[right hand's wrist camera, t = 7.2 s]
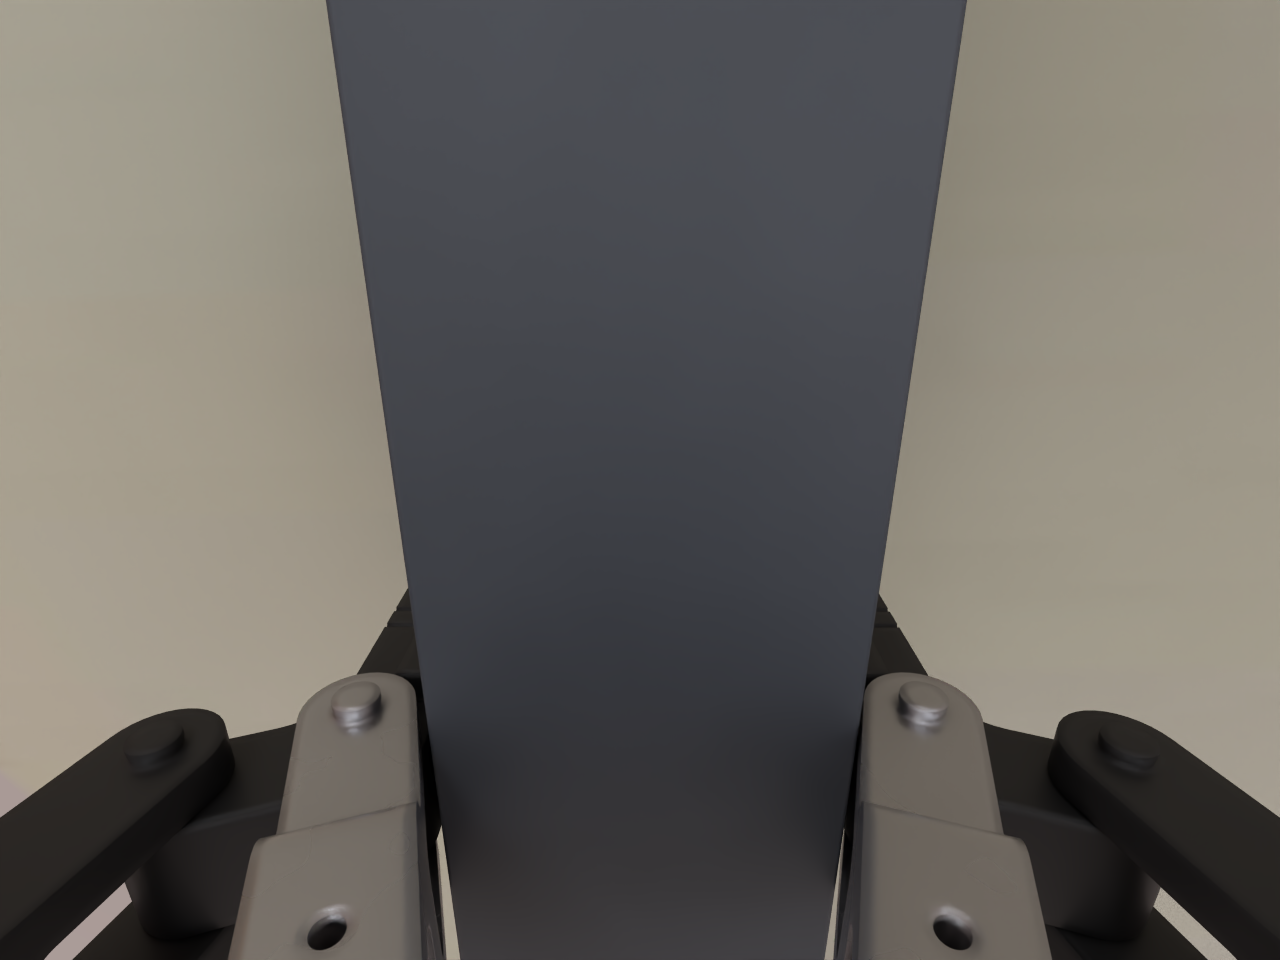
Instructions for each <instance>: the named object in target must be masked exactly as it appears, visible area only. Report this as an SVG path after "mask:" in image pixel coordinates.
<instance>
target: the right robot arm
mask: <svg viewBox="0 0 1280 960" xmlns="http://www.w3.org/2000/svg"><path fill="white" fill-rule="evenodd" d="M441 825H442V824H441V817H440V810H439V803H438V796H437V788H436V781H435V774H434V767H433V760H432V753H431V746H430V738H429V731H428V724H427V717H426V710H425V703H424V696H423V689H422V681H421V674H420V667H419V660H418V653H417V646H416V639H415V632H414V624H413V617H412V610H411V603H410V596H409V589H407V591H406V592H405V594H404V596H403V597H402V599H401V601H400V602H399V604H398V606H397V610H396V611H394V613H393V614H392V616H391V618H390V619H389V621H388V623H387V627H385V628H384V629H383V631H382V633H381V634H380V636H379V638H378V640H377V641H376V643H375V645H374V646H373V648H372V650H371V651H370V653H369V655H368V656H367V658H366V660H365V661H364V663H363V665H362V667H361V668H360V670H359V672H358V673H357V675H354V676H350V677H347V678H344V679H341V680H339V681H336V682H334V683H332V684H330V685H328V686H326V687H325V688H323V689H321V690H320V691H319V692H317V693H316V694H315V695H313V696H312V697H311V698H310V699H309V700H308V701H307V702H306V703H305V705H304V706H303V707H302V709H301V711H300V713H299V716H298V719H297V723H295V724H292V725H289V726H285V727H281V728H277V729H273V730H268V731H264V732H259V733H255V734H250V735H245V736H241V737H236V738H232V739H229V737H228V733H227V730H226V726H225V723H224V721H223V719H222V718H221V717H220V716H219V715H218V714H216V713H214V712H212V711H209V710H204V709H179V710H173V711H168V712H164V713H161V714H157V715H154V716H151V717H149V718H146V719H143V720H141V721H139V722H137V723H134V724H132V725H130V726H128V727H127V728H125V729H123V730H121V731H120V732H118V733H117V734H115V735H114V736H112V737H111V738H109V739H108V740H106V741H105V742H104V743H102V744H101V745H100V746H98V747H97V748H95V749H94V750H93V751H91V752H90V753H89V754H87V755H86V756H84V757H83V758H82V759H80V760H79V761H78V762H76V763H75V764H73V765H72V766H71V767H69V768H68V769H67V770H65V771H64V772H62V773H61V774H60V775H58V776H57V777H56V778H54V779H53V780H51V781H50V782H49V783H47V784H46V785H45V786H43V787H42V788H40V789H39V790H38V791H36V792H35V793H34V794H32V795H31V796H29V797H28V798H27V799H25V800H24V801H23V802H21V803H20V804H18V805H17V806H16V807H14V808H13V809H12V810H10V811H9V812H7V813H6V814H5V815H3V816H2V817H1V818H0V960H44V959H45V958H46V956H47V955H48V954H49V953H50V952H51V951H52V950H53V949H54V948H55V947H56V946H57V945H58V944H59V943H60V942H61V941H62V940H63V939H64V938H65V937H66V936H68V935H69V934H70V933H71V932H72V931H73V930H74V929H75V928H76V927H77V926H78V925H79V924H80V923H81V922H83V921H84V920H85V919H86V918H87V917H88V916H89V915H90V914H91V913H92V912H93V911H94V910H95V909H96V908H97V907H98V906H100V905H101V904H102V903H103V902H104V901H105V900H106V899H107V898H108V897H109V896H110V895H111V894H112V893H113V892H114V891H115V890H117V889H118V888H119V887H120V886H121V885H122V884H123V883H124V882H125V884H126V887H127V889H128V892H129V895H130V897H131V900H132V902H131V903H130V904H129V905H128V906H127V907H126V908H125V909H124V910H123V911H122V912H121V913H120V914H119V915H118V916H117V917H116V918H115V919H114V920H113V921H112V922H110V923H109V924H108V925H107V926H106V927H105V928H104V929H103V930H102V931H101V932H100V933H99V934H98V935H97V936H96V937H95V938H94V939H93V940H92V941H91V942H90V943H89V944H88V945H87V946H86V947H85V948H84V949H83V950H82V951H81V952H80V953H79V954H78V955H77V956H76V957H75V958H74V959H73V960H446V946H445V931H444V917H443V903H442V889H441V875H440V860H439V850H438V843H437V837H438V834H439V831H440V828H441ZM1160 888H1162V889H1163V890H1165V891H1166V892H1167V893H1168V894H1169V895H1170V896H1171V897H1172V898H1173V899H1174V900H1175V901H1176V902H1177V903H1178V904H1179V905H1180V906H1182V907H1183V908H1184V909H1185V910H1186V911H1187V912H1188V913H1189V914H1190V915H1191V916H1192V917H1193V918H1194V919H1195V920H1196V921H1198V922H1199V923H1200V924H1201V925H1202V926H1203V927H1204V928H1205V929H1206V930H1207V931H1208V932H1209V933H1210V934H1211V935H1212V936H1213V937H1215V938H1216V939H1217V940H1218V941H1219V942H1220V943H1221V944H1222V945H1223V946H1224V947H1225V948H1226V949H1227V950H1228V951H1229V952H1230V953H1231V954H1232V955H1233V956H1234V957H1235V958H1236V959H1237V960H1280V818H1279V817H1278V816H1277V815H1275V814H1274V813H1273V812H1271V811H1270V810H1268V809H1267V808H1266V807H1264V806H1263V805H1262V804H1260V803H1259V802H1257V801H1256V800H1255V799H1253V798H1252V797H1251V796H1249V795H1248V794H1246V793H1245V792H1244V791H1242V790H1241V789H1240V788H1238V787H1237V786H1235V785H1234V784H1233V783H1231V782H1230V781H1229V780H1227V779H1226V778H1224V777H1223V776H1222V775H1220V774H1219V773H1218V772H1216V771H1215V770H1213V769H1212V768H1211V767H1209V766H1208V765H1207V764H1205V763H1204V762H1202V761H1201V760H1200V759H1198V758H1197V757H1196V756H1194V755H1193V754H1191V753H1190V752H1189V751H1187V750H1186V749H1185V748H1183V747H1182V746H1180V745H1179V744H1178V743H1176V742H1175V741H1174V740H1172V739H1171V738H1169V737H1168V736H1166V735H1165V734H1163V733H1161V732H1160V731H1158V730H1156V729H1154V728H1152V727H1150V726H1148V725H1146V724H1144V723H1142V722H1140V721H1137V720H1134V719H1131V718H1129V717H1125V716H1122V715H1118V714H1114V713H1109V712H1103V711H1079V712H1074V713H1071V714H1068V715H1067V716H1065V717H1063V718H1062V720H1061V721H1060V722H1059V724H1058V727H1057V730H1056V734H1055V737H1054V739H1049V738H1045V737H1040V736H1035V735H1031V734H1026V733H1022V732H1017V731H1012V730H1008V729H1004V728H1000V727H996V726H993V725H990V724H987V723H984V722H983V719H982V716H981V713H980V711H979V709H978V708H977V706H976V705H975V704H974V702H973V701H972V700H971V699H970V698H969V697H968V696H966V695H965V694H964V693H963V692H961V691H960V690H958V689H957V688H955V687H954V686H952V685H950V684H948V683H946V682H944V681H941V680H939V679H936V678H933V677H930V676H928V674H927V673H926V671H925V669H924V668H923V666H922V664H921V663H920V661H919V660H918V658H917V656H916V655H915V653H914V651H913V650H912V648H911V646H910V645H909V643H908V641H907V640H906V638H905V636H904V635H903V633H902V631H901V630H900V628H897V623H896V621H895V620H894V618H893V616H892V615H891V613H890V612H888V611H887V606H886V605H885V603H884V601H883V600H882V598H881V597H880V595H878V601H877V608H876V615H875V622H874V628H873V635H872V642H871V648H870V655H869V662H868V669H867V675H866V682H865V689H864V695H863V702H862V709H861V716H860V722H859V729H858V736H857V743H856V749H855V756H854V763H853V769H852V776H851V783H850V790H849V796H848V803H847V810H846V817H845V823H844V836H843V842H842V849H841V858H840V873H839V887H838V901H837V915H836V930H835V944H834V958H833V960H1207V959H1206V958H1205V957H1204V956H1203V955H1202V954H1201V953H1200V952H1199V951H1198V950H1197V949H1196V948H1195V947H1194V946H1193V945H1192V944H1191V943H1190V942H1189V941H1188V940H1187V939H1186V938H1185V937H1184V936H1183V935H1182V934H1181V933H1180V932H1179V931H1178V930H1177V929H1176V928H1175V927H1174V926H1173V925H1172V924H1171V923H1170V922H1169V921H1167V920H1166V919H1165V918H1164V917H1163V916H1162V915H1161V914H1160V913H1159V912H1158V911H1157V910H1156V909H1155V908H1154V907H1153V906H1154V903H1155V900H1156V898H1157V895H1158V893H1159V890H1160Z"/></svg>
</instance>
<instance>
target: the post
mask: <svg viewBox="0 0 1280 960" xmlns="http://www.w3.org/2000/svg"><path fill="white" fill-rule="evenodd" d="M966 3H967V0H326V4H327V11H328V18H329V25H330V32H331V40H332V47H333V54H334V61H335V68H336V75H337V82H338V90H339V97H340V104H341V111H342V118H343V125H344V132H345V139H346V147H347V154H348V161H349V168H350V175H351V182H352V189H353V196H354V204H355V211H356V218H357V225H358V232H359V239H360V246H361V254H362V261H363V268H364V275H365V282H366V289H367V296H368V303H369V311H370V318H371V325H372V332H373V339H374V346H375V353H376V361H377V368H378V375H379V382H380V389H381V396H382V403H383V410H384V418H385V425H386V432H387V439H388V446H389V453H390V460H391V467H392V475H393V482H394V489H395V496H396V503H397V510H398V517H399V525H400V532H401V539H402V546H403V553H404V560H405V567H406V574H407V582H408V589H409V596H410V603H411V610H412V617H413V624H414V632H415V639H416V646H417V653H418V660H419V667H420V674H421V681H422V689H423V696H424V703H425V710H426V717H427V724H428V731H429V738H430V746H431V753H432V760H433V767H434V774H435V781H436V788H437V796H438V803H439V810H440V817H441V824H442V831H443V838H444V845H445V853H446V860H447V867H448V874H449V881H450V888H451V895H452V903H453V910H454V917H455V924H456V931H457V938H458V945H459V952H460V960H824V958H825V951H826V944H827V938H828V931H829V924H830V917H831V911H832V904H833V897H834V890H835V884H836V877H837V870H838V864H839V857H840V850H841V843H842V837H843V830H844V823H845V817H846V810H847V803H848V796H849V790H850V783H851V776H852V769H853V763H854V756H855V749H856V743H857V736H858V729H859V722H860V716H861V709H862V702H863V695H864V689H865V682H866V675H867V669H868V662H869V655H870V648H871V642H872V635H873V628H874V622H875V615H876V608H877V601H878V595H879V588H880V581H881V574H882V568H883V561H884V554H885V548H886V541H887V534H888V527H889V521H890V514H891V507H892V501H893V494H894V487H895V480H896V474H897V467H898V460H899V453H900V447H901V440H902V433H903V427H904V420H905V413H906V406H907V400H908V393H909V386H910V379H911V373H912V366H913V359H914V353H915V346H916V339H917V332H918V326H919V319H920V312H921V306H922V299H923V292H924V285H925V279H926V272H927V265H928V258H929V252H930V245H931V238H932V232H933V225H934V218H935V211H936V205H937V198H938V191H939V185H940V178H941V171H942V164H943V158H944V151H945V144H946V137H947V131H948V124H949V117H950V111H951V104H952V97H953V90H954V84H955V77H956V70H957V63H958V57H959V50H960V43H961V37H962V30H963V23H964V16H965V10H966Z"/></svg>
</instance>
